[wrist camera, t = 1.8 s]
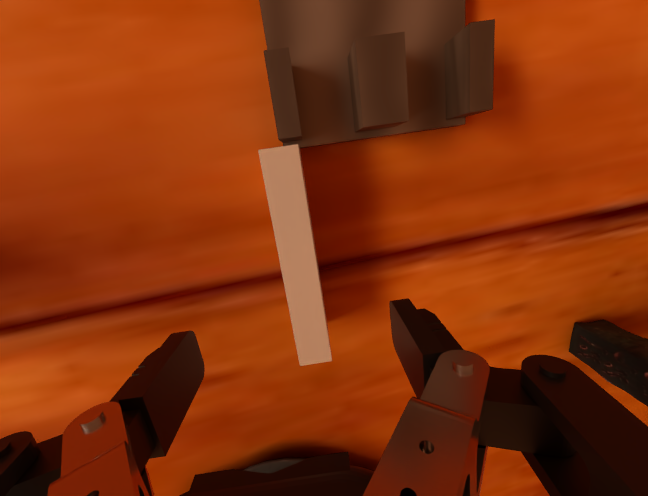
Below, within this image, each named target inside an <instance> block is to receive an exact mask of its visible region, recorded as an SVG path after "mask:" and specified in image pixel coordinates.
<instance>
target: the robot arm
mask: <svg viewBox="0 0 648 496" xmlns="http://www.w3.org/2000/svg"><path fill="white" fill-rule="evenodd" d="M390 317H391V329H392V338H393V343H394V347H395V350H396V352H397V355H398V357H399V359H400V361H401V363H402V366H403V368H404V370H405V372H406V375H407V377H408V379H409V381H410V383H411V386H412V388H413V390H414V392H415V394H416V397H417V398H416V397H412V398H411V399H410V400H409V402H408V404H407V406H406V408H405V410H404V412H403V414H402V416H401V418H400V420H399V422H398V424H397V426H396V428H395V431H394V433H393V435H392V437H391V439H390V441H389V443H388V445H387V447H386V449H385V451H384V453H383V455H382V457H381V459H380V461H379V463H378V465H377V467H376V469H375V472H374V471H371V470H369V469H366V468H362V467H358V466H352V465H350V461H349V455H348V452H342V453H336V454H329V455H323V456H316V457H310V458H308V459H305V460H303V461H300V462H298V463H296V464H293V465H291V466H288V467H286V468H283V469H281V470H278V471H276V472H273V473H260V472H252V471H243V470H235V469H231V470H224V471H217V472H211V473H204V474H198V475H195V477H194V479H193V482H192V485H191V488H190V490H189V491H188V492H186V493H184V494H182V495H180V496H480V490H481V484H482V478H483V473H484V467H485V461H486V455H487V449H488V446H489V447H496V448H502V449H509V450H516V451H521V452H522V454H523V455H524V457H525V458H526V460H527V461H528V463H529V464H530V466H531V467H532V469H533V471H534V472H535V474H536V475H537V477H538V478H539V480H540V481H541V483H542V484H543V486H544V487H545V489H546V490H547V492H548V493H549V495H550V496H648V426H647V425H645V424H644V423H643V422H642V421H641V420H639V419H638V418H637V417H636V416H635V415H633V414H632V413H631V412H630V411H629V410H628V409H626V408H625V407H624V406H623V405H622V404H620V403H619V402H618V401H617V400H616V399H614V398H613V397H612V396H611V395H610V394H609V393H607V392H606V391H605V390H604V389H603V388H601V387H600V386H599V385H598V384H597V383H595V382H594V381H593V380H592V379H591V378H590V377H588V376H587V375H586V374H585V373H584V372H582V371H581V370H580V369H579V368H578V367H576V366H575V365H573V364H571V363H570V362H568V361H565V360H563V359H560V358H557V357H553V356H548V355H533V356H529V357H527V358H525V359H524V360H523V361H522V365H521V370H516V369H503V368H495V367H490V366H489V365H488V363H487V362H486V360H485V359H483V358H482V357H481V356H479V355H477V354H475V353H473V352H470V351H465V350H463V349H462V347H461V346H460V345H459V344H458V342H457V341H456V340H455V339H454V337H453V336H452V335H451V334H450V332H449V331H448V330H446V328H445V326H444V325H443V324H442V323H441V321H440V320H439V319H438V318H437V316H436V315H435V314H433V313H432V312H430V311H428V310H426V309H416V308H415V306H414V305H413V304H412V302H411V301H410V300H409V299H408V298H407V299H401V300H394V301H390ZM203 377H204V362H203V359H202V355H201V352H200V349H199V346H198V342H197V339H196V336H195V334H194V332H193V331H185V332H178V333H172V334H171V335H170V336H169V337H168V338H167V339H166V341H165V342H164V343H163V344H162V346H161V347H160V348H158V349H156V350H155V351H154V352H152V353H151V354H150V355H148V356H147V357H146V358H145V359H144V361H143V362H142V363H141V364H140V365H139V368H137V369H136V370H135V371H134V373H133V374H132V377H129V379H128V380H127V381H126V382H125V383H124V385H123V386H122V387H121V388H120V389H119V391H118V392H117V393H116V394H115V396H114V397H113V398H112V399H111V400H110V402H106V403H102V404H99V405H96V406H94V407H92V408H90V409H88V410H86V411H85V412H83V413H82V414H80V415H79V416H78V417H76V418H75V419H74V420H73V421H72V422H71V423H70V424H69V425H68V426H67V427H66V429H65V431H64V433H63V434H62V435H59V436H57V437H54V438H51V439H48V440H46V441H43V442H40V443H38V444H37V443H36V441H35V439H34V437H33V435H32V434H31V433H30V432H26V431H24V432H18V433H14V434H11V435H9V436H6V437H4V438H2V439H0V496H154V492H153V488H152V485H151V481H150V477H149V473H148V471H147V468H146V466H145V465H146V463H147V462H148V460H149V459H150V458H156V457H163V456H166V454H167V452H168V450H169V448H170V446H171V444H172V442H173V440H174V438H175V435H176V433H177V431H178V429H179V427H180V425H181V423H182V421H183V419H184V417H185V415H186V413H187V411H188V409H189V407H190V405H191V403H192V401H193V399H194V396H195V394H196V392H197V390H198V388H199V386H200V384H201V382H202V380H203Z"/></svg>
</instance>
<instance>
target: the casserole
mask: <svg viewBox="0 0 648 496" xmlns="http://www.w3.org/2000/svg"><path fill="white" fill-rule="evenodd" d="M303 460H305V459H304V458H282V459H276V460H270V461H265V462H262V463H259V464H256V465H253V466H250V467H248V468H246V469H244V470H243V471H252V472H260V473H273V472H276V471H278V470H281V469H283V468H286V467H288V466H291V465H293V464H296V463H298V462H300V461H303Z"/></svg>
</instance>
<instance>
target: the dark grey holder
mask: <svg viewBox="0 0 648 496" xmlns="http://www.w3.org/2000/svg"><path fill="white" fill-rule="evenodd" d="M259 1H260V7H261V13H262V19H263V25H264V31H265V38H266V44H267V50H265V51H264V56H265V62H266V68H267V74H268V79H269V85H270V91H271V97H272V103H273V109H274V115H275V121H276V127H277V133H278V139H279V140H280V141H281V142H283V146H289V145H296V144H298V145H299V147H300V148H304V147H312V146H319V145H326V144H333V143H340V142H347V141H354V140H361V139H369V138H376V137H383V136H390V135H397V134H404V133H411V132H418V131H425V130H433V129H440V128H447V127H454V126H459V125H463V124H465V117H467V116H470V115H474V114H478V113H481V112H485V111H488V110H492V109H493V73H494V30H495V19H493V20H486V21H479V22H471V23H469V24H468V25H467V26H466V27H465V0H259Z"/></svg>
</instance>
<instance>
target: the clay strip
mask: <svg viewBox="0 0 648 496" xmlns="http://www.w3.org/2000/svg"><path fill="white" fill-rule="evenodd" d="M258 152H259V157H260V162H261V167H262V173H263V178H264V183H265V188H266V193H267V198H268V204H269V209H270V214H271V219H272V224H273V229H274V234H275V240H276V245H277V250H278V255H279V260H280V265H281V271H282V276H283V281H284V286H285V291H286V296H287V301H288V307H289V312H290V317H291V322H292V327H293V332H294V338H295V343H296V348H297V353H298V358H299V363H300V366H303V365H309V364H316V363H322V362H328V361H332V357H331V349H330V341H329V333H328V325H327V318H326V311H325V305H324V298H323V292H322V286H321V279H320V273H319V266H318V260H317V253H316V247H315V241H314V234H313V228H312V221H311V215H310V209H309V202H308V196H307V189H306V183H305V176H304V170H303V164H302V157H301V151H300V147H299V145H298V144H296V145H289V146H282V147H275V148H268V149H262V150H258Z"/></svg>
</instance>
